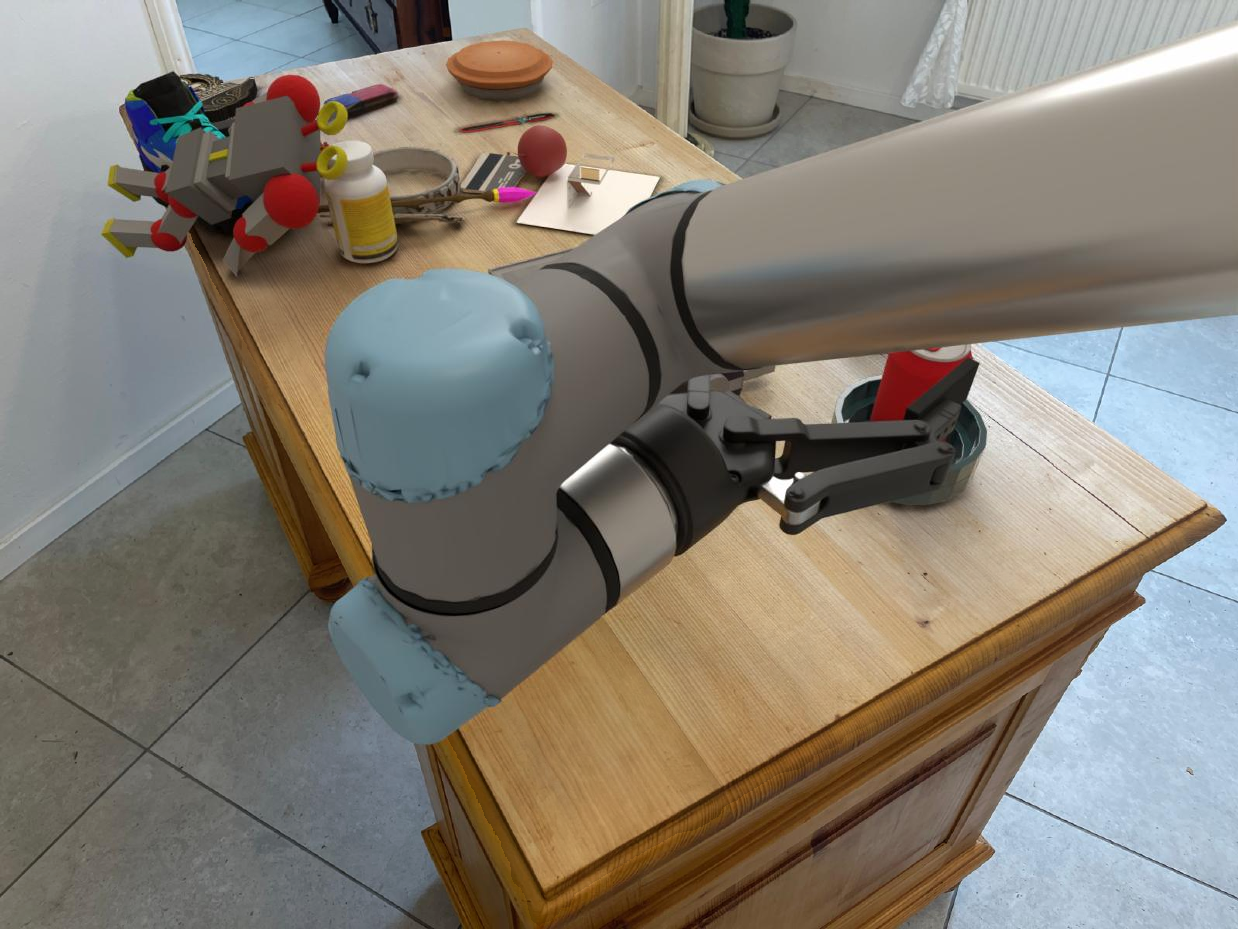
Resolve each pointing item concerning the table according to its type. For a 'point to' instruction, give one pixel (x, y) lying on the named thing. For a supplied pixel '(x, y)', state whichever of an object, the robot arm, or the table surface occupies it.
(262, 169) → the toy robot
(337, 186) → the pill bottle
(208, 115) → the emblem
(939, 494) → the bowl
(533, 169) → the fruit
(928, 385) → the beverage can
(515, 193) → the paintbrush
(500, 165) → the black striped case
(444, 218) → the nutcracker
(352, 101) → the eraser
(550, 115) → the pen
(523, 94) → the pie
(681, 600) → the table surface
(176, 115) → the sneaker
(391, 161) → the bracelet
